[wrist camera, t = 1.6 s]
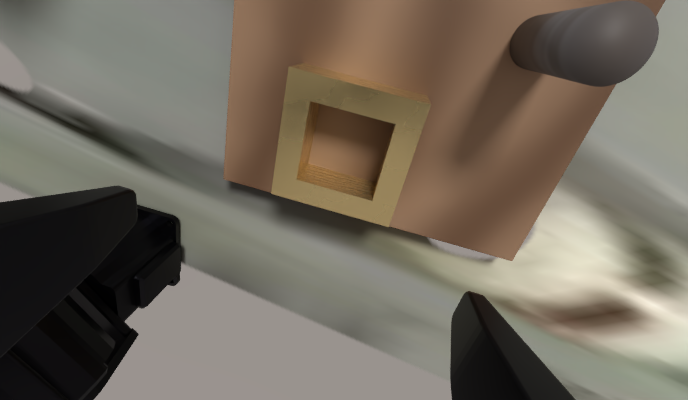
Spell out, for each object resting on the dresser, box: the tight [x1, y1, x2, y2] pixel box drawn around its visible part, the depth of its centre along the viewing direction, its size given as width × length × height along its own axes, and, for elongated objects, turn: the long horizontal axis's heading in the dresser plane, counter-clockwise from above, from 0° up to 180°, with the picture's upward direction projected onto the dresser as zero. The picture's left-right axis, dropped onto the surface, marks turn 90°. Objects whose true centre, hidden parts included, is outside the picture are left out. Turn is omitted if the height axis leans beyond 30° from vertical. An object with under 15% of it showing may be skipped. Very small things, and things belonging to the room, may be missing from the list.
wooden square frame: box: [271, 63, 431, 227], centre depth 17 cm, size 6×6×2 cm
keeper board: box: [223, 0, 665, 261], centre depth 15 cm, size 18×14×8 cm
